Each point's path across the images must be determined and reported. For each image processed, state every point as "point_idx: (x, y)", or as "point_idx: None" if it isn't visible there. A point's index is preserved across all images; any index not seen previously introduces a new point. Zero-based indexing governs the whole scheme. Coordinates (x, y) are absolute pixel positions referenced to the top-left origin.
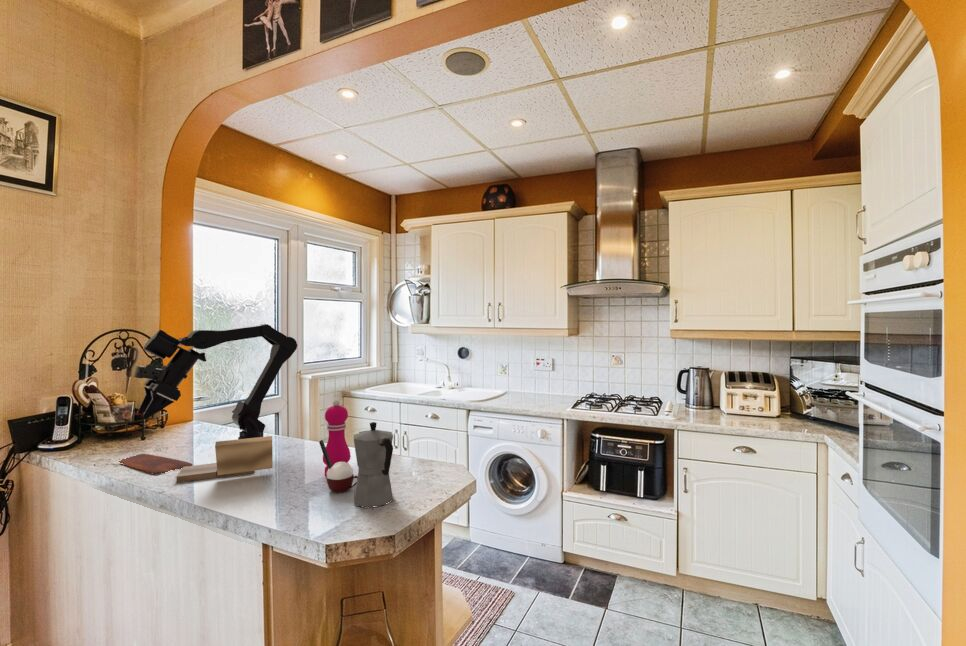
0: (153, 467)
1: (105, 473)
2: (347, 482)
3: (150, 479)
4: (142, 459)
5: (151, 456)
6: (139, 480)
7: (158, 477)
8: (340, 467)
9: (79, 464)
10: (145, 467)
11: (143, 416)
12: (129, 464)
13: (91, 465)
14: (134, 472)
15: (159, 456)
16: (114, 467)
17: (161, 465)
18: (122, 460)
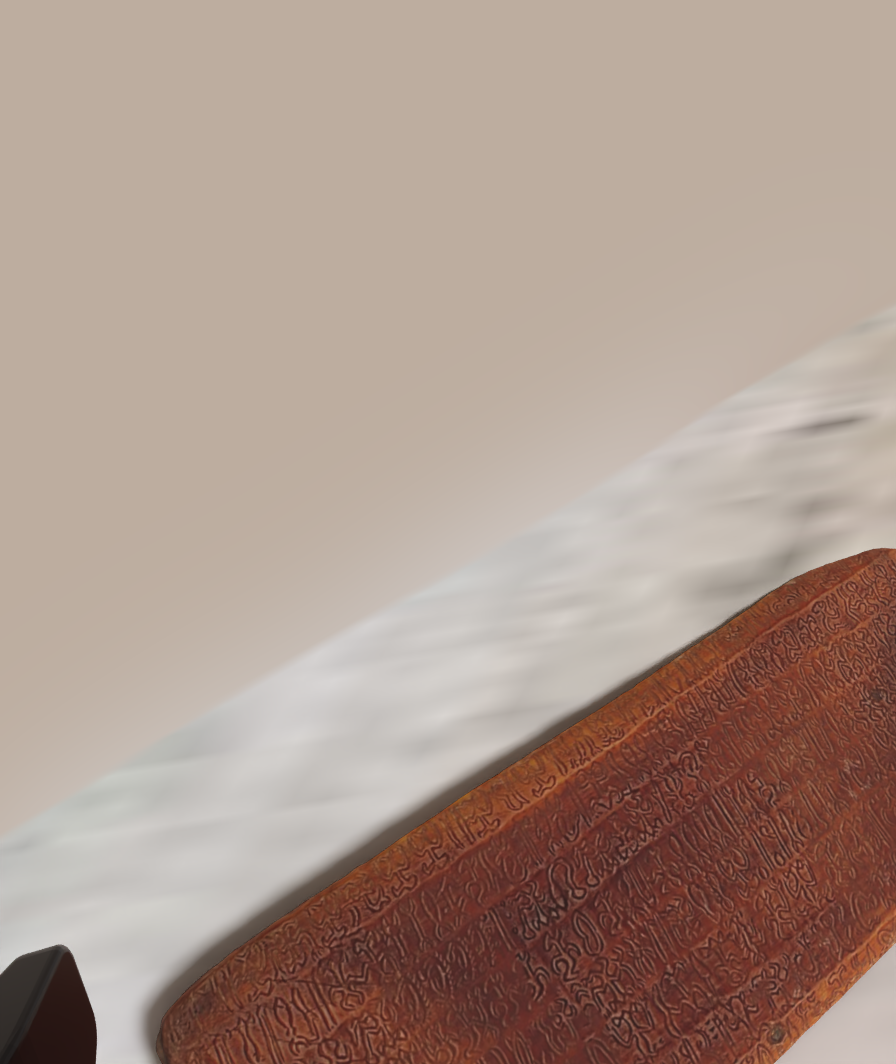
0: (343, 960)
1: (503, 544)
2: None
3: None
4: (782, 784)
5: (892, 850)
6: (67, 870)
7: None
8: None
9: (888, 324)
10: (403, 872)
11: (2, 984)
12: (653, 692)
13: (821, 404)
14: (401, 775)
15: (863, 936)
16: (674, 578)
17: (392, 1035)
18: (853, 606)
